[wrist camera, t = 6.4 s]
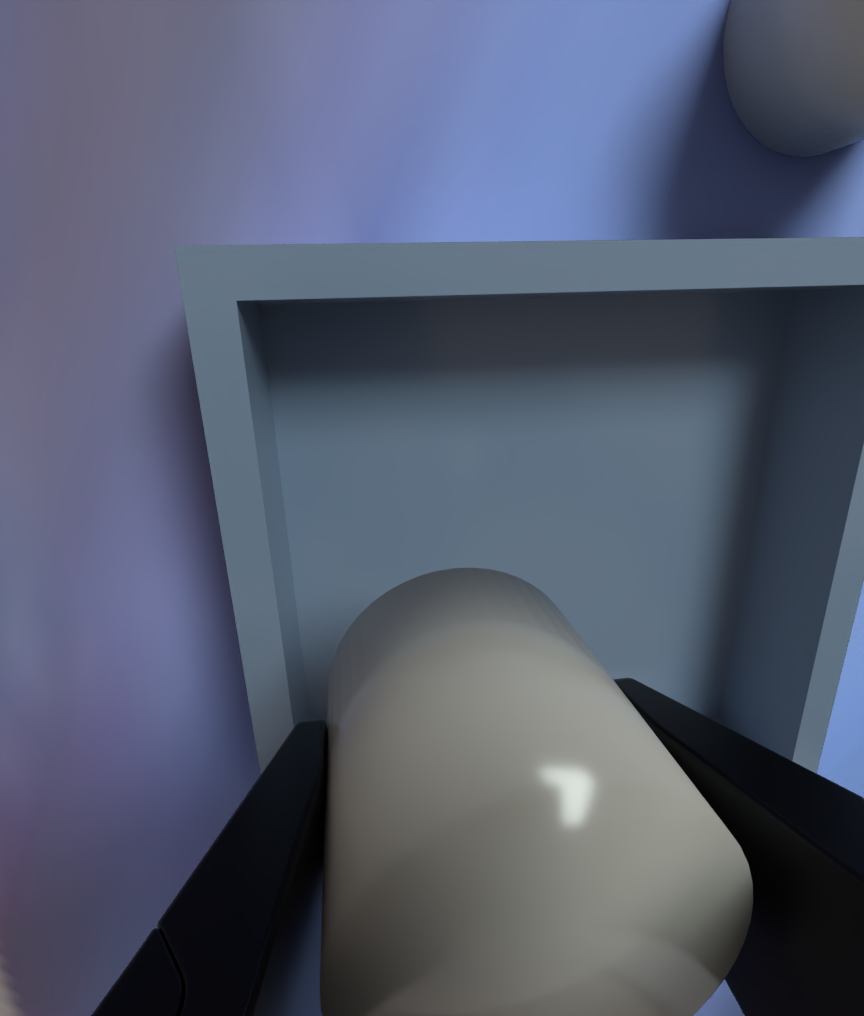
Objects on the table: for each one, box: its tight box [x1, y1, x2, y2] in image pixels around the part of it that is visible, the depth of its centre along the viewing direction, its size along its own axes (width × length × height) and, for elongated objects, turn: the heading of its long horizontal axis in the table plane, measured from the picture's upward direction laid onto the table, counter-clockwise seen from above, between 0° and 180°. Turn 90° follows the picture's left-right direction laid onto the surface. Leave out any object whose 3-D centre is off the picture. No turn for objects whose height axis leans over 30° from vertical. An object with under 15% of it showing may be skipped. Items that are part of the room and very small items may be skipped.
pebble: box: [320, 568, 753, 1016], centre depth 8 cm, size 4×4×4 cm
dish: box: [174, 237, 864, 775], centre depth 13 cm, size 14×14×3 cm
